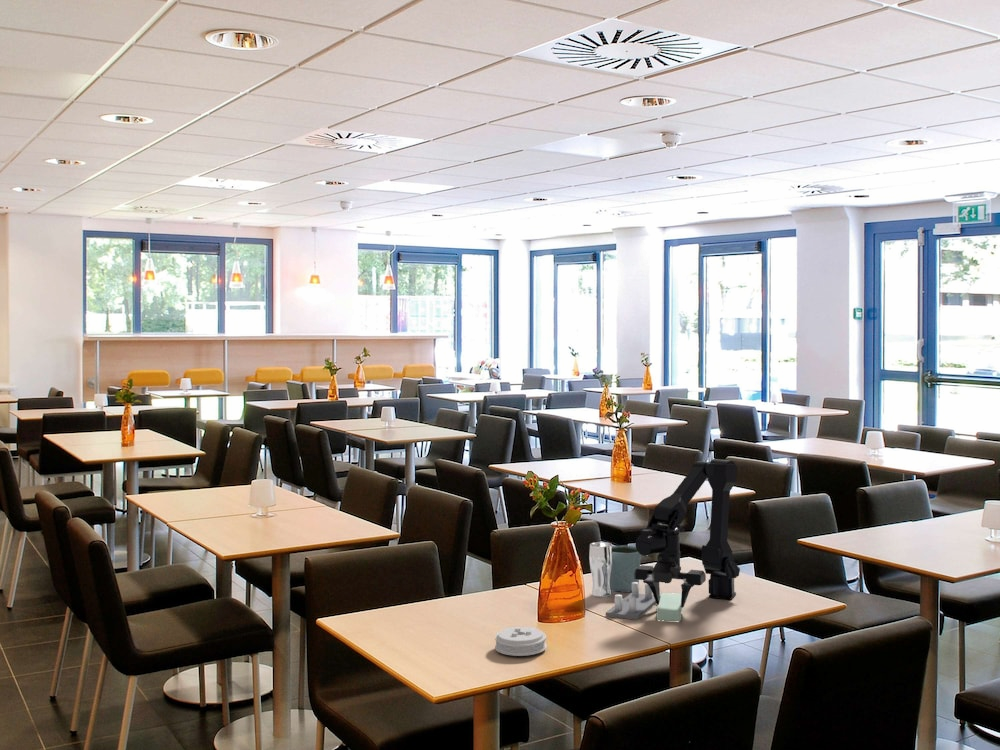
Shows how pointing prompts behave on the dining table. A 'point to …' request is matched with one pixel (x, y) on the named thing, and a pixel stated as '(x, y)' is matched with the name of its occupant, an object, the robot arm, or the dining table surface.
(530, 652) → the lid
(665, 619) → the plank
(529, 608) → the dining table surface
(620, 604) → the peg stand
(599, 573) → the beer glass
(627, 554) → the teal cylinder
